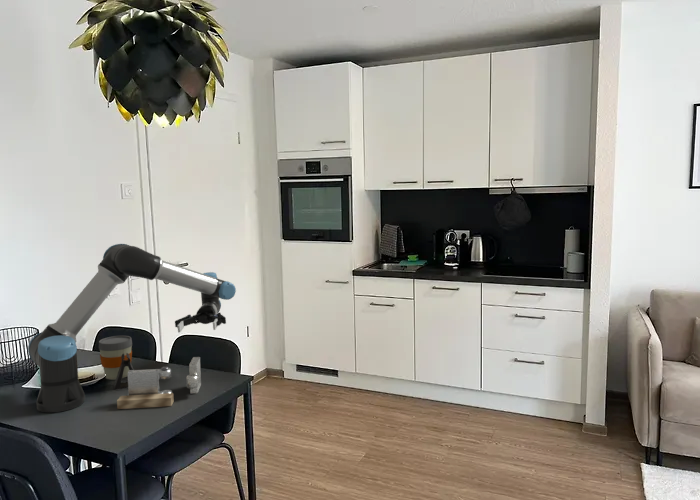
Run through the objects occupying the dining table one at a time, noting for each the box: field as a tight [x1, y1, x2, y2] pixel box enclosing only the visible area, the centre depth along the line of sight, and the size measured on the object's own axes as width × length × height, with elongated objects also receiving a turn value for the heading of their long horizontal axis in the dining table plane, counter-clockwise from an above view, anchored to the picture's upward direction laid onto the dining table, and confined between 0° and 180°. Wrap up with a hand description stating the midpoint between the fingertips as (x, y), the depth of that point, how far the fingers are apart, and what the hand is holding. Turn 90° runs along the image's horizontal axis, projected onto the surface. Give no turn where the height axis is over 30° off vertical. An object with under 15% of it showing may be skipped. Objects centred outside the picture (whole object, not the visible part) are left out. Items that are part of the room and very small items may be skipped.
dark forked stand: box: [114, 353, 135, 390], centre depth 208 cm, size 9×6×12 cm, turn 114°
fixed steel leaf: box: [127, 366, 173, 396], centre depth 192 cm, size 14×4×12 cm, turn 97°
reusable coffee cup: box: [98, 335, 133, 380], centre depth 218 cm, size 12×13×15 cm
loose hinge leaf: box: [186, 356, 202, 395], centre depth 201 cm, size 4×14×11 cm, turn 7°
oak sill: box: [116, 392, 175, 410], centre depth 189 cm, size 18×4×3 cm, turn 97°
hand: (196, 327), depth 210 cm, fingers open, 13 cm apart
